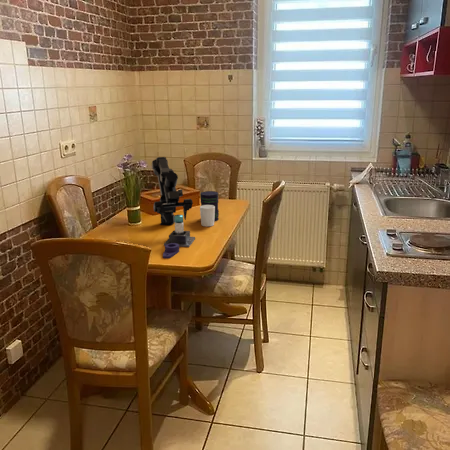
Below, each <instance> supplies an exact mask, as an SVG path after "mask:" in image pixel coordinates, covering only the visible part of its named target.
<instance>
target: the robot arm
mask: <svg viewBox="0 0 450 450" xmlns="http://www.w3.org/2000/svg"><path fill="white" fill-rule="evenodd" d="M151 170H152V171H153V173H154V175H156V177H157V181H158V187H159V191H160V192H159V193H160V198H159V200H158V201H154V203H153V211H154V213H155V212H156V213H157V214H160V224H159V225H161V226H172V225H173V224H175V217H174V216H175V214H176V213H177V207H182V208H183V210H182V212H183V220H185V221H186V219H187V215H188V211H190V210H191V209H192V207H193V204H194V202H193V200H192V198H185V199H183V201H182V202H180V198H181V197H183V196H184V193H183V189H178V190H177V188H176V186H177V183H178V179H179V176H178V174H177V173H176V172H175V171H174V170H173V169H172V168H170V167H169V162H168V159H167V157H166V156H157V157H156V158H155V159H153V160H152V161H151ZM174 213H175V214H174Z"/></svg>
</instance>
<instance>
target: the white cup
mask: <svg viewBox="0 0 450 450" xmlns="http://www.w3.org/2000/svg"><path fill="white" fill-rule="evenodd" d="M199 212H200V215H199V216H200V223H201V226H203V227H213V226H214V225H215V222H214V219H215V206H214V205H202V206H201V205H200V206H199Z"/></svg>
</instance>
